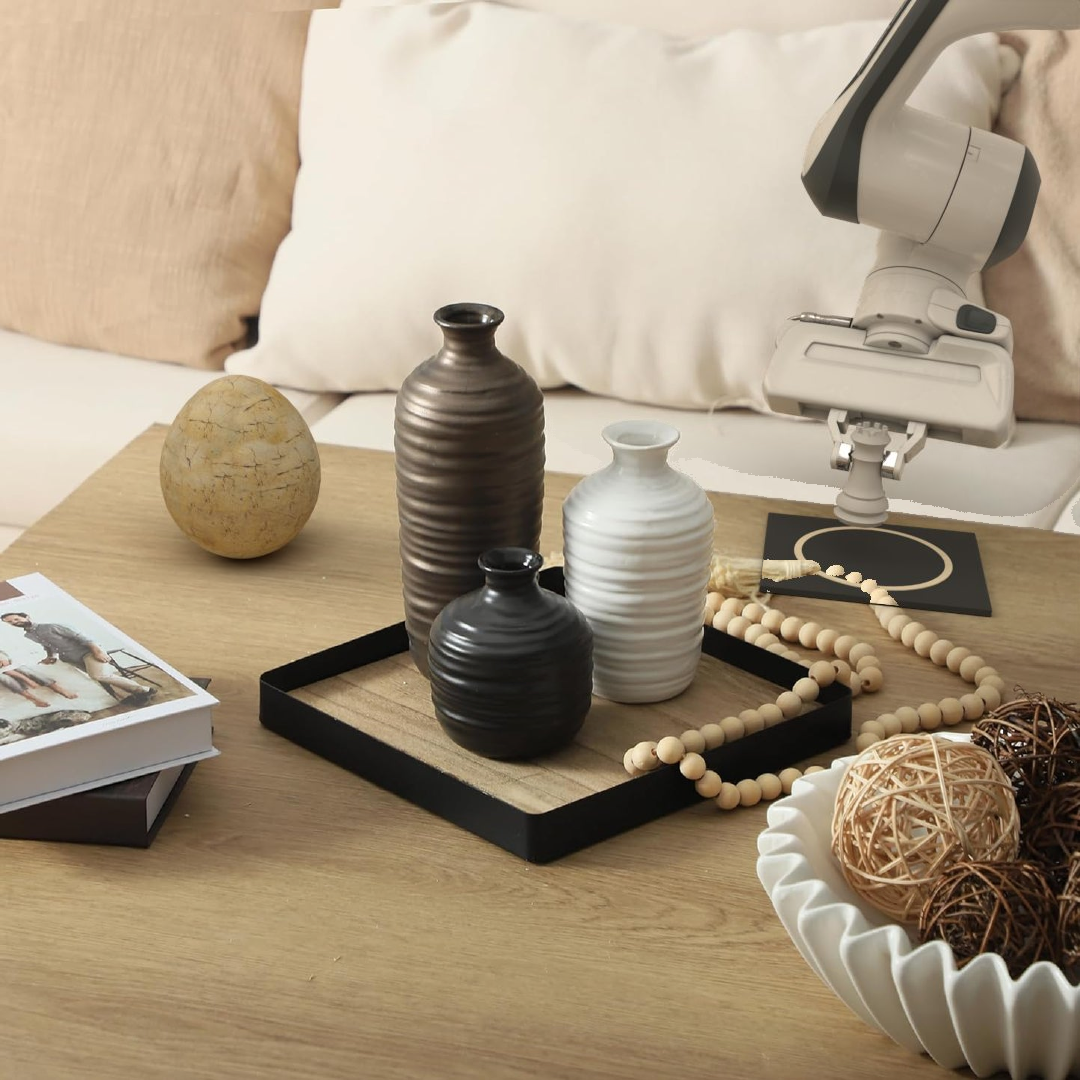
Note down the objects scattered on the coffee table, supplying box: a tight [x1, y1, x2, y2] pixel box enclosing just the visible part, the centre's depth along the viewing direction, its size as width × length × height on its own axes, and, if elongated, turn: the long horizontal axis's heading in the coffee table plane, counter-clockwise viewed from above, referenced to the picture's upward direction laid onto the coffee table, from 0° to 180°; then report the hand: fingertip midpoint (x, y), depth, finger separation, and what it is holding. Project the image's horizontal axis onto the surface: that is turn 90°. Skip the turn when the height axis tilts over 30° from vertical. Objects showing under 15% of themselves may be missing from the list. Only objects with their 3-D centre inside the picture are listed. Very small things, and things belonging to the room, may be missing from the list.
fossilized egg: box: [159, 374, 322, 560], centre depth 118 cm, size 13×13×15 cm
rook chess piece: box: [833, 422, 892, 528], centre depth 120 cm, size 4×4×8 cm
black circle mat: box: [758, 512, 993, 618], centre depth 123 cm, size 18×16×1 cm
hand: (865, 471), depth 119 cm, fingers closed on rook chess piece, 3 cm apart
